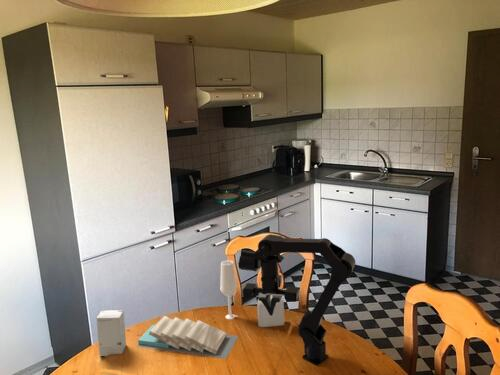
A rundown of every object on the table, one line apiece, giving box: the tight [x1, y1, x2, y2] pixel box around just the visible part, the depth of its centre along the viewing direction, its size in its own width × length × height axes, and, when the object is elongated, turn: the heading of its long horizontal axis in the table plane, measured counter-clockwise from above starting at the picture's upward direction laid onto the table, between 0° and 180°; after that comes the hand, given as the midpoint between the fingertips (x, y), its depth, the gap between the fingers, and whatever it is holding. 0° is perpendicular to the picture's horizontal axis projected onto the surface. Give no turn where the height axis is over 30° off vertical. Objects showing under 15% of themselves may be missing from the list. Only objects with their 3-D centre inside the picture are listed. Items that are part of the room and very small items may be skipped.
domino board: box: [136, 334, 239, 359], centre depth 151 cm, size 34×14×1 cm, turn 74°
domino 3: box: [160, 316, 192, 351], centre depth 150 cm, size 2×11×12 cm
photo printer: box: [256, 295, 285, 328], centre depth 159 cm, size 10×4×12 cm, turn 96°
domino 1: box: [137, 324, 170, 348], centre depth 153 cm, size 2×11×12 cm
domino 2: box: [149, 315, 181, 349], centre depth 152 cm, size 2×11×12 cm
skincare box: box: [96, 309, 127, 358], centre depth 146 cm, size 8×6×15 cm
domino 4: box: [172, 318, 204, 352], centre depth 149 cm, size 2×11×12 cm
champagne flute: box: [219, 259, 239, 320], centre depth 164 cm, size 7×7×24 cm
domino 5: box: [184, 319, 228, 354], centre depth 148 cm, size 2×11×12 cm
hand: (271, 315), depth 142 cm, fingers closed
